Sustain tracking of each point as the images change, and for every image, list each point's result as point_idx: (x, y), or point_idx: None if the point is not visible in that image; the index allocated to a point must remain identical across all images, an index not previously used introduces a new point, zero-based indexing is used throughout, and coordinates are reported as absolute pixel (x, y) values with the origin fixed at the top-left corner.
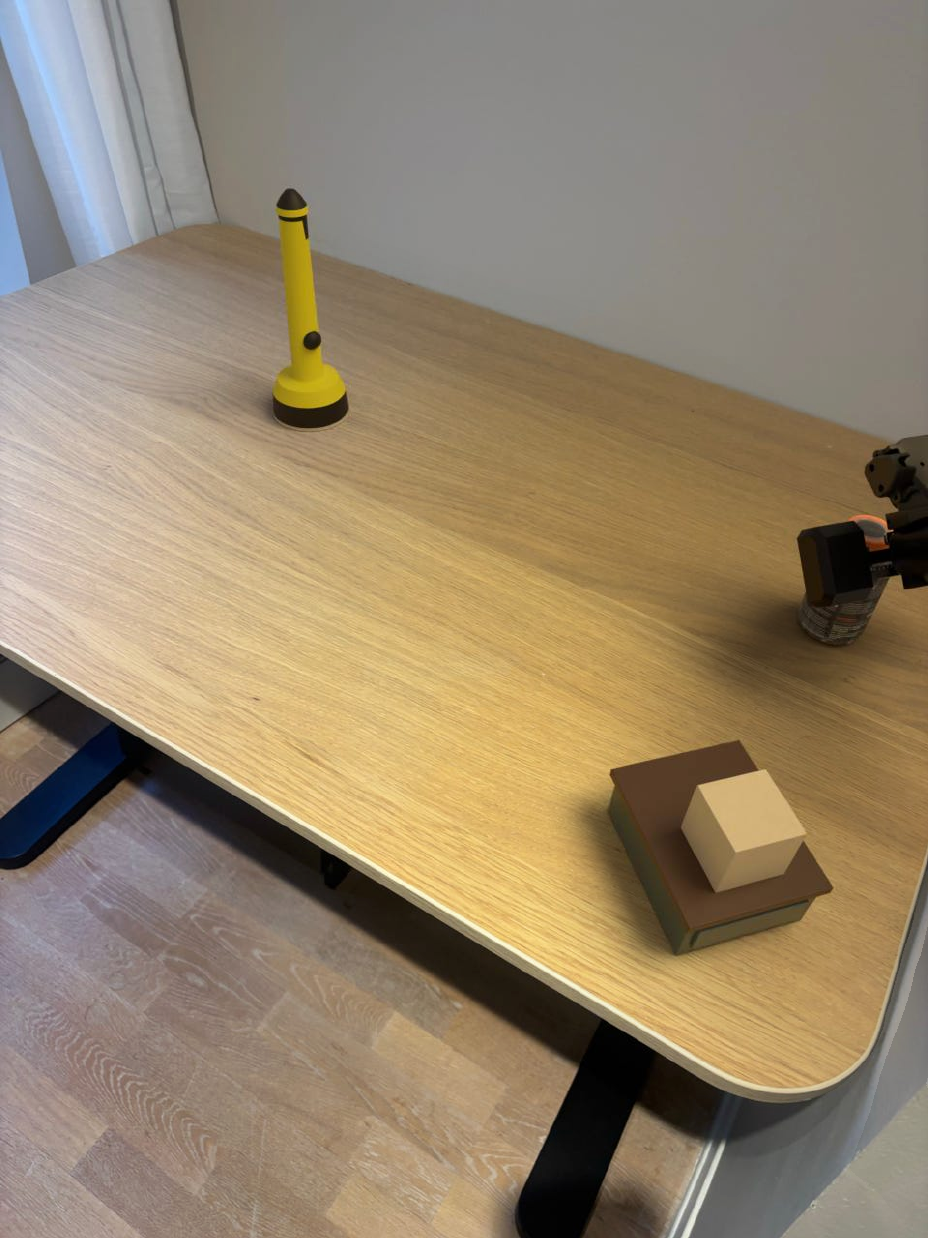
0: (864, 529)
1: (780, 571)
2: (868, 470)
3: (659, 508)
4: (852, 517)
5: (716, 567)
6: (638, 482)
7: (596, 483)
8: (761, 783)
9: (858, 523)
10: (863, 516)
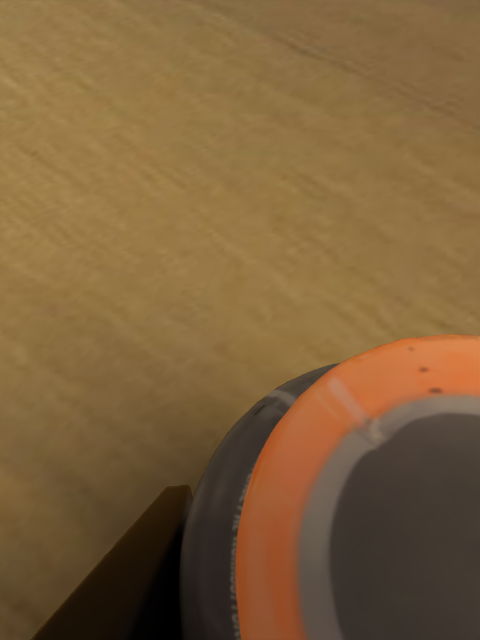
0: (408, 597)
1: (283, 333)
2: None
3: (101, 138)
4: (358, 365)
5: (127, 305)
6: (100, 80)
7: (21, 81)
8: None
9: (378, 470)
10: (475, 360)
